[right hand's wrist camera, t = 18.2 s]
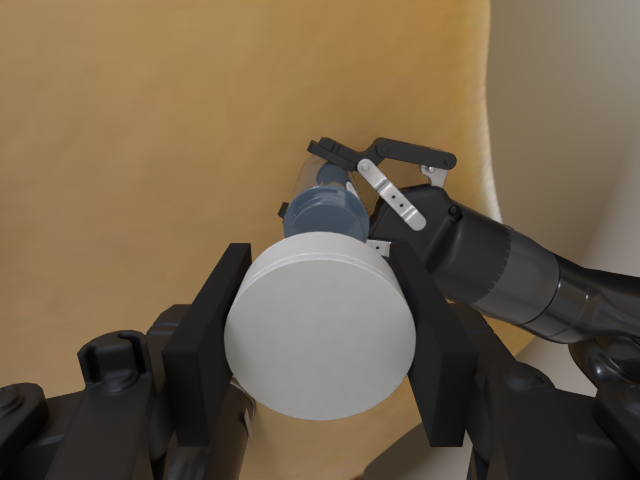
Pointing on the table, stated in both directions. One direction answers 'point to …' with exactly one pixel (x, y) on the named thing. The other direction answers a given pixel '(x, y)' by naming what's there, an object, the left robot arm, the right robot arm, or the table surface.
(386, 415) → the table surface
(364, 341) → the white cylinder
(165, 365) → the right robot arm
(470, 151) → the table surface
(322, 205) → the bottle
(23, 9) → the table surface
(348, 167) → the left robot arm
